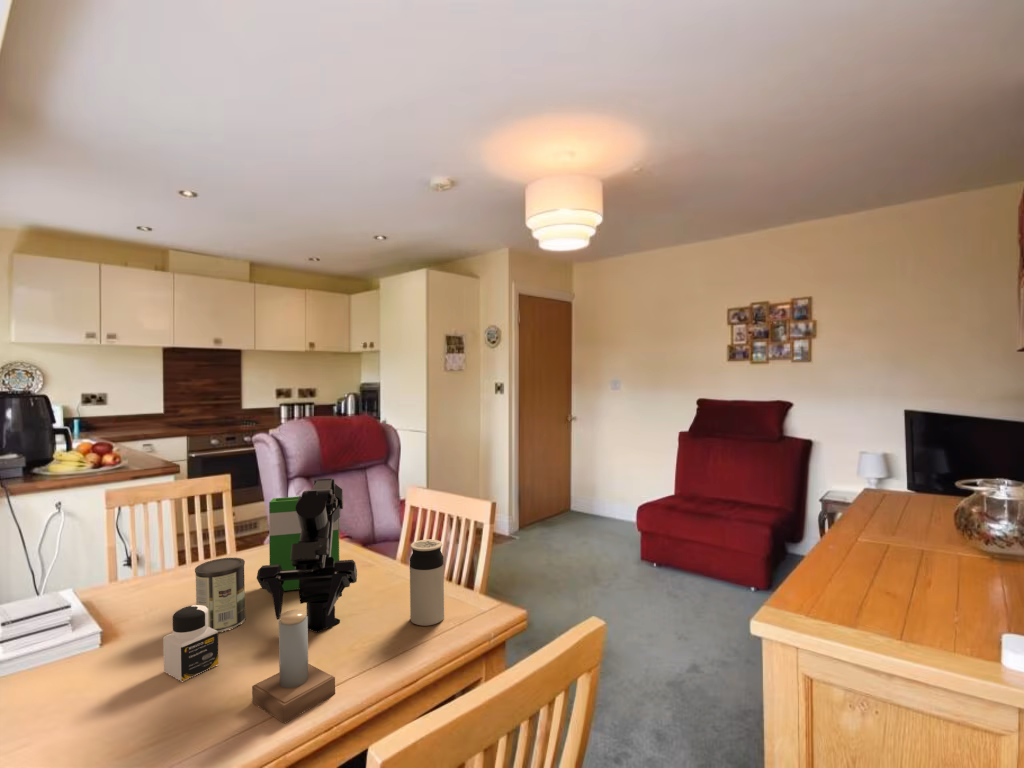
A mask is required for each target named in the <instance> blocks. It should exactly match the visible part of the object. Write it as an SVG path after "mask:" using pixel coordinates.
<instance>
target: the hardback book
mask: <svg viewBox="0 0 1024 768" xmlns="http://www.w3.org/2000/svg"><path fill="white" fill-rule="evenodd" d="M298 499H299V496H287V497H275V498H274V497H273V498H272V499H271V500H270V501H269V505H268V507H269V509H268V512H269V515H268V516H269V517H268V518H269V525H268V526H269V530H268V532H269V534H268V535H269V549H268V551H269V565H279V564H280V566H281V568H282V570H283V571H285V570H295V567H293V565H292V561H291V549H292V544H295V543H298V542H299V541H300V535H301V528H300V525H299V521H298V517H297V513H296V504H297V501H298ZM331 557H333V559H334V563H335V562H336V561H339V560H340V518H338V519H337V520H336V521H335V522H334V523H333V535H332V548H331ZM282 587H283V589H284V592H286V591H287V592H288V591H294V590H299V580H285V581H284V584H283V585H282Z"/></svg>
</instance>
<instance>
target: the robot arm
mask: <svg viewBox="0 0 1024 768" xmlns="http://www.w3.org/2000/svg"><path fill="white" fill-rule="evenodd" d="M298 497H299V499H298V501H297V504H296V513H297V517H298V521H299V525H300V528H301V535H300V541H299V542H298V543H295V544H292V549H291V561H292V565H293V567H295V570H285V571H283V570H282V568H281V566H280V564H279V565H270V564H269V565H261V566H260V568H259V569H258V570H257V574H256V580H257V582H258V583H259V586H260V588H261V589H262V590H266V591H267V592H268V593H269V594H271V596H272V600H273V605H274V606H273V607H274V611H275V618H276V620H277V621H280V616H281V614H282V609H283V602H284V601H283V600H284V592H285V591H284V589H283V587H282V585H283V584H284V581H285V580H299V589H298V595H299V604H302V605H303V604H306V616H307V617H308V631H312V632H314V633H320V632H322V631H324V630H326V629H328V628H330V627H333V626H335V625H337V624H339V623H340V622H341V619H339V618H337V617H336V608H335V604H336V602H337V601H338V600H339V598H340V597H343V591H344V590H345V588H350V587H351V584H355V583H357V581H358V569H357V565H356V561H354V559H343V560H342V559H341V560H340V559H339V561H336V562H335V563H334V559H333V557H331V548H332V535H333V523H334V522H335V521H336V520H337V519H338V518H339V519H340V517H341V510H344V493H343V489H342V488H341V487H340V486H339V485H337V484H336V480H335V479H334V478H332V477H331V478H330V477H329V478H317V479H315V480H314V483H313V487H312V488H311V489H310V490H304V491H302V493H301V496H298Z"/></svg>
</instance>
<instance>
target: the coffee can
mask: <svg viewBox="0 0 1024 768" xmlns="http://www.w3.org/2000/svg"><path fill="white" fill-rule="evenodd" d="M245 562H246V561H245V559H243V558H240V557H223V558H216V559H213V560H210V561H205V562H203V563H200V564H199V565H197V566H196V567H195V568H194V573H195V597H196V598H195V599H196V600H195V603H196V604H195V605H202V606H206V607H207V608H208V627H210V628H212V629H214V630H217V631H218V632H221V633H223V632H222V631H225V632H227V631H226V630H229V629H232V628H234V627H236V626H238V625H240V624H241V623H243V622H244V623H245V621H246V620H245V619H247V617H246V597H245V596H246V595H245V594H246V592H245V587H246V586H245V564H246V563H245ZM244 620H245V621H244ZM244 623H243V624H244ZM241 625H242V624H241ZM241 625H240V626H241ZM238 627H239V626H238ZM236 628H237V627H236ZM234 629H235V628H234ZM232 630H233V629H232ZM229 631H230V630H229Z"/></svg>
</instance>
